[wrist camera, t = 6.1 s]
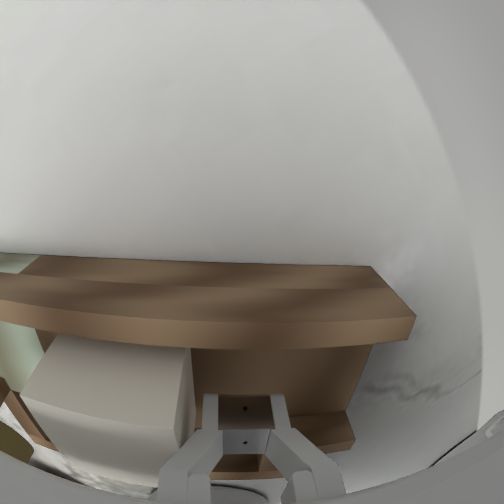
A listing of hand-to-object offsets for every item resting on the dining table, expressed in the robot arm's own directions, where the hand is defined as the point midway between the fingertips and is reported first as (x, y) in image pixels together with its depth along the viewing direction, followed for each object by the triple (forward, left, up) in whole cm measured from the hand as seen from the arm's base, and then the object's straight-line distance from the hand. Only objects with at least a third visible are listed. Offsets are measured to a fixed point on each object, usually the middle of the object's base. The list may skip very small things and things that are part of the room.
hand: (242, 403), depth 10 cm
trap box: (+6, +4, -4) cm, 8 cm away
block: (+4, 0, -2) cm, 5 cm away
